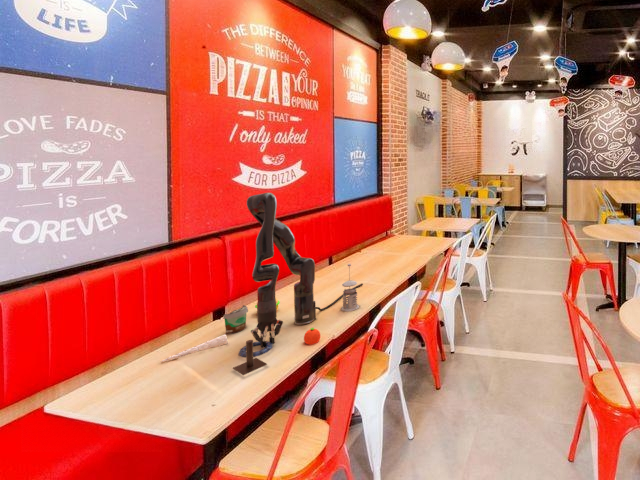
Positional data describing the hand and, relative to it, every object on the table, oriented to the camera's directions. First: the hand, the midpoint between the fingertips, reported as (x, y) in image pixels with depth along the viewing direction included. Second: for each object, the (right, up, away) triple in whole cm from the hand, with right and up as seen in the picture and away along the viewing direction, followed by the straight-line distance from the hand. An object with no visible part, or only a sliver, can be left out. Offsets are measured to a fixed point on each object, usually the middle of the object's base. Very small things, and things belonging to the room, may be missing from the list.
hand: (267, 347), depth 172 cm
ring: (-3, +1, -4) cm, 5 cm away
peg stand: (+3, 0, -18) cm, 18 cm away
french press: (+22, 0, +43) cm, 49 cm away
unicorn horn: (-29, -1, -4) cm, 29 cm away
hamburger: (-22, -1, +40) cm, 46 cm away
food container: (-25, -1, +19) cm, 31 cm away
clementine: (+19, 0, +3) cm, 19 cm away
